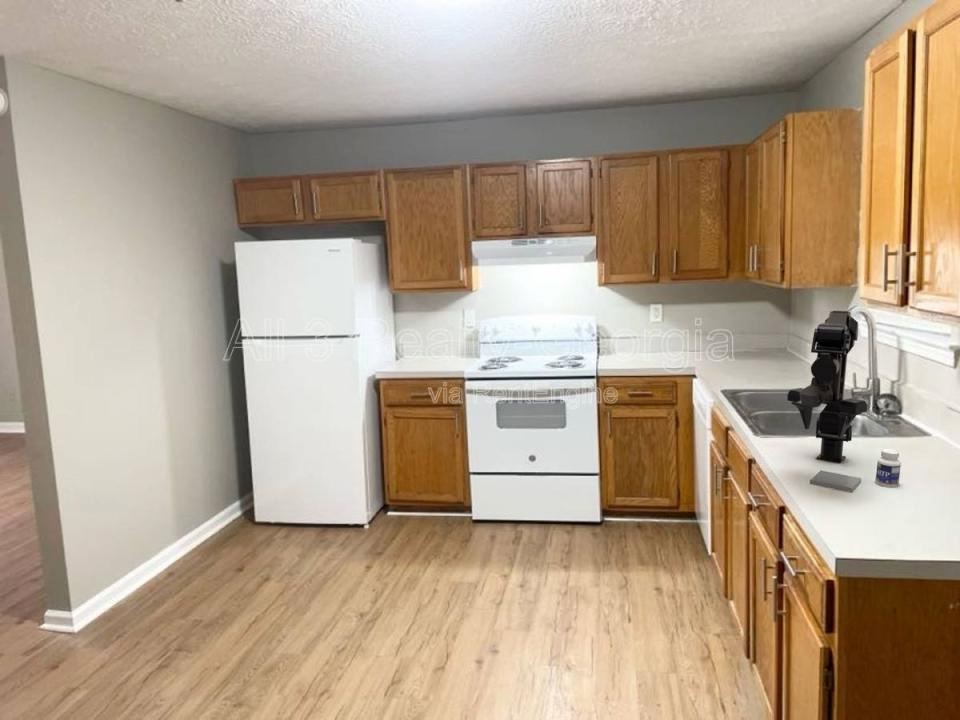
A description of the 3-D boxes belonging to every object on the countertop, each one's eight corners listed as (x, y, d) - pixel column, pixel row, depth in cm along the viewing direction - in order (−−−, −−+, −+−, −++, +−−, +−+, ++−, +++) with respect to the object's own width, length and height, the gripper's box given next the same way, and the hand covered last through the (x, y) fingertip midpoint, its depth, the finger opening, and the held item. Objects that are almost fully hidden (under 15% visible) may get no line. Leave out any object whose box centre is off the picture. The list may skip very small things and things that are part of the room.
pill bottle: (870, 482, 187) (873, 449, 185) (885, 479, 188) (888, 447, 187) (888, 488, 182) (891, 455, 180) (903, 486, 184) (906, 453, 182)
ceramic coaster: (820, 474, 193) (820, 470, 192) (860, 482, 186) (861, 478, 186) (809, 484, 185) (810, 479, 185) (851, 492, 179) (852, 488, 178)
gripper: (775, 371, 184) (772, 429, 186) (845, 384, 168) (839, 447, 171) (801, 366, 189) (797, 423, 192) (871, 378, 174) (865, 439, 177)
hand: (823, 433), depth 183 cm, fingers open, 9 cm apart
